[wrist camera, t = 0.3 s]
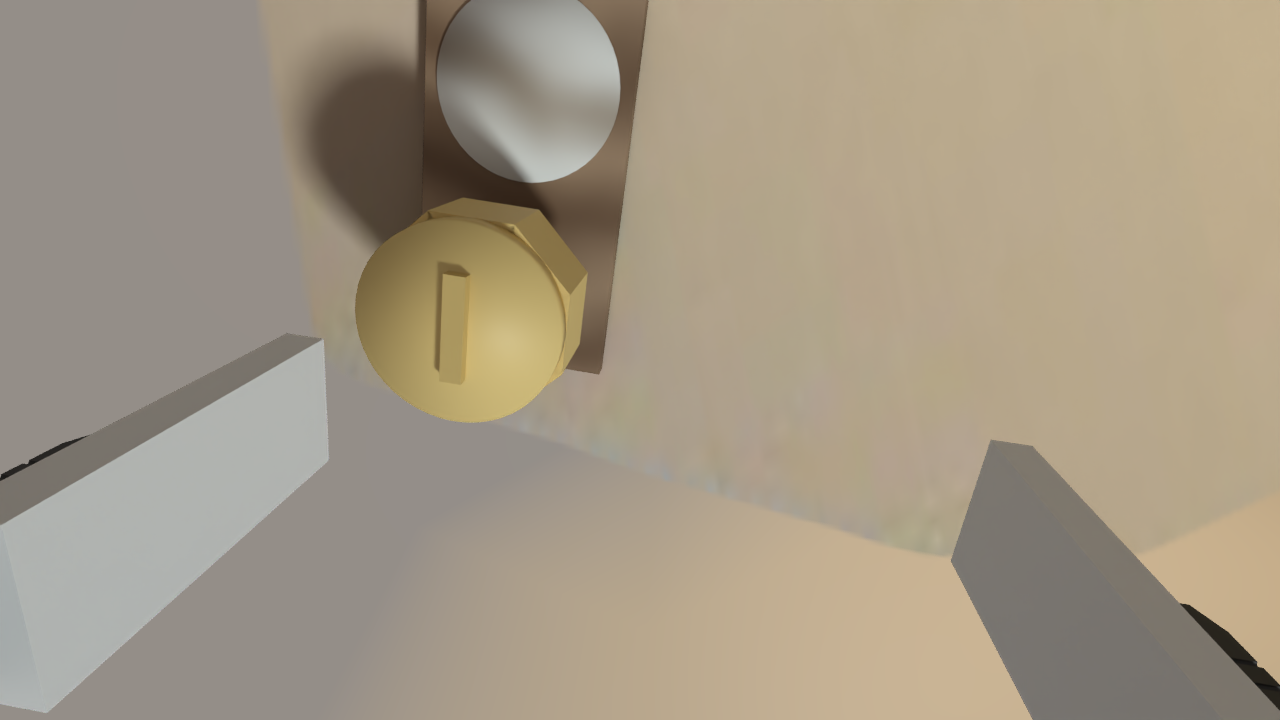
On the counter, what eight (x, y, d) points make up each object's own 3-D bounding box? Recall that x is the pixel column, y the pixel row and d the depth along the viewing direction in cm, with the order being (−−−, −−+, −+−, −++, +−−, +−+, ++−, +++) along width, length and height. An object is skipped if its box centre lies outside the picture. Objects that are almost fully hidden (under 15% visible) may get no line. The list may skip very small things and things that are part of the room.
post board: (435, -30, 35) (345, -70, 27) (648, 1, 35) (625, -32, 26) (425, 338, 42) (352, 396, 34) (601, 368, 42) (571, 435, 33)
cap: (409, 188, 34) (346, 206, 29) (594, 218, 34) (568, 242, 28) (406, 362, 38) (350, 409, 32) (574, 391, 37) (547, 444, 32)
